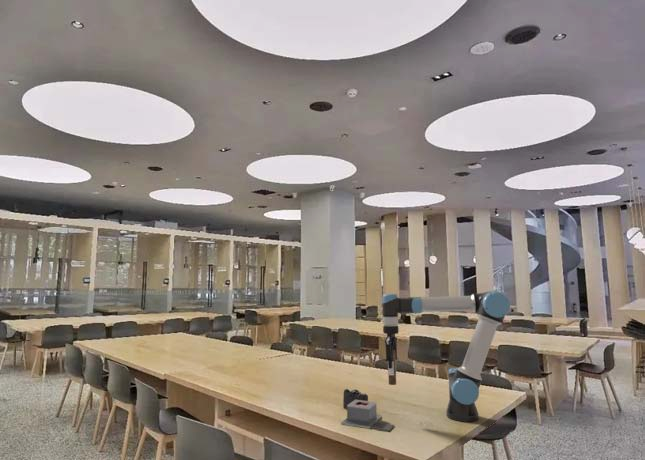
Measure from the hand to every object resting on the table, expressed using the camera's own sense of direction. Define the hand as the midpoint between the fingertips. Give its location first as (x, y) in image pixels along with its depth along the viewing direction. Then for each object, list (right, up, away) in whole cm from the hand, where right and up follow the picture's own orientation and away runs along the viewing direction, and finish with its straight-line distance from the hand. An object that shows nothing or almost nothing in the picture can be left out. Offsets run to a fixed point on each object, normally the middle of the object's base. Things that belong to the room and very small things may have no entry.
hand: (392, 374), depth 197 cm
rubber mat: (-6, -20, -13) cm, 25 cm away
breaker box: (-15, -21, -4) cm, 26 cm away
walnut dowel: (0, -5, -1) cm, 5 cm away
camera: (-15, -24, +15) cm, 32 cm away
